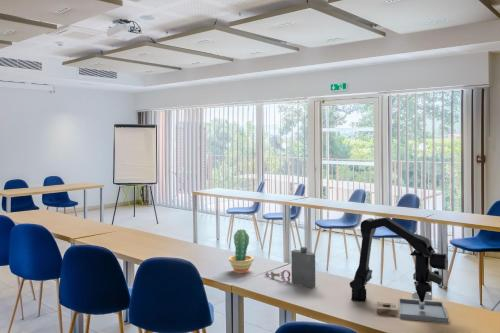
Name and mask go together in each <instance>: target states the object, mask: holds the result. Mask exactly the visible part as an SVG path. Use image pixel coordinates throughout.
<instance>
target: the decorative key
mask: <svg viewBox="0 0 500 333" xmlns="http://www.w3.org/2000/svg"><path fill="white" fill-rule="evenodd" d="M285 273H287V275H288V276H287V277H286V278H285ZM264 275H265V276H266V277H269V276H271V279H273V278H274V277H278V278H280V277H281V278H280V279H281V280H283V281H284V282H285V283H290V281H291V278H290V277H291V272H290V270H288V269H284V270H283V271H281V272H280V273H275V272H274V271H273V270H271V271H270V273H269V272H268V271H267V272H266V273H264Z"/></svg>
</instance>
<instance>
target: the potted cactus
mask: <svg viewBox="0 0 500 333" xmlns="http://www.w3.org/2000/svg"><path fill="white" fill-rule="evenodd" d="M233 242H234V243H233V244H234V248H235V252H234V253H235V254H234V255H231V256H229V257H228V262H229V263H230V266H231V268H232V269H233V272H234V273H236V274H246V273H249V269H250V268H251V266H252V262H254V260H255V259H254V256H253V255H250V254H247V251H248V246H249V244H250V236H249V234H248V233H247V231H246V229H244V228H242V229H241V228H240V229H237V230H236V231H235V233H234V234H233Z"/></svg>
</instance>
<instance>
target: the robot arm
mask: <svg viewBox="0 0 500 333" xmlns="http://www.w3.org/2000/svg"><path fill="white" fill-rule="evenodd" d="M359 226H360V234H361V238H362V239H361V244H360V245H361V246H360V253H359V262H358V267H357V269H356V271H355V274H354V277H353V280H352V281H350V282H349V287H350V289H351V298H350V300H351V301H358V302H366V300H367V288H366V285H367V284H368V282H370V281H371V279H373V276H372V274H373V270H372V269H370V258H371V251H372V250H371V249H372V243H373V237H374V236H375V233H376V231H377V230H376V229H377V228H381V227H382V228H383V227H384V228H386V229H388V230H389V231H391V232H392V233H394V234H396V235H397V236H398V237H400V238H402V239H403V240H405V241H406V242H407V243H408V244H409V245H410V246H411V248H412V249H414V250H413V251H412V252H411V253H409V255H410V256H414V273H413V274H412V280H414V281H413V284H414V289H415V292H417V294H418V296H419V299H420V301H421V302H423V301H424V298H425V294H426V293H432V285H431V284H430V283H431V282H432V283H434V284H437V285H438V286H441V285H442V283H443V281H444V277H443V276H442V274H440V272H439V270H443V271H447V269H448V267H449V260H448V257H447V256H448V255H447V253H438V252H436V250H435V249H434V248H433V247H432V245H431V242H430V239H429V238H427V237H426V236H423V235H421V234H418V233H415V232H412V231H410V230H409V229H407V228H406V227H404V226H402V225H401V224H399V223H398V222H396V221H394V220H392V218H390V217H389V216H384V217H380V218H376V219H375V218H371V217H370V218H366V219H364V220H362V221H361V222H360V225H359ZM430 267H431V268H432V269H435V270H433V271H431V270H430ZM436 269H437V270H436ZM419 299H418V300H419Z"/></svg>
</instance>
